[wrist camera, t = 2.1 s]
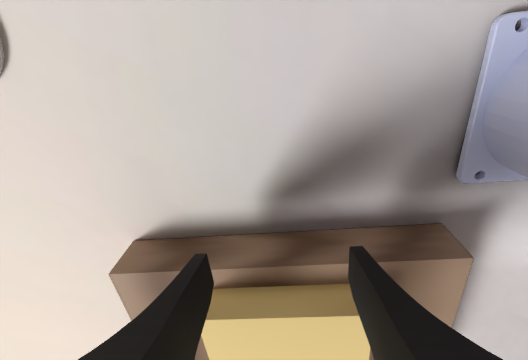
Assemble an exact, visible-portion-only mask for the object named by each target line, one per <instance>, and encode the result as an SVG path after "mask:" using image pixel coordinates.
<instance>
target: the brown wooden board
mask: <svg viewBox="0 0 528 360" xmlns="http://www.w3.org/2000/svg"><path fill="white" fill-rule="evenodd" d="M350 246H363V247H364V248H365V249H366V250H367V251H368V253H369V254H370V255H371V256H372V257H373V258H374V260H375V261H376V262H377V263H378V264H379V265H380V266H381V267H382V268H383V270H384V271H385V272H386V273H387V274H388V275H389V276H390V277H391V278H392V279H393V280H394V281H395V282H396V283H397V284H398V285H399V286H400V287H401V288H402V289H403V290H405V291H406V292H407V293H408V294H409V295H410V296H411V297H412V298H413V299H414V300H416V301H417V302H418V303H419V304H420V305H422V306H423V307H424V308H425V309H426V310H428V311H429V312H430V313H432V314H433V315H434V316H435V317H437V318H438V319H440V320H441V321H442V322H444V323H445V324H447V325H448V326H450V327H451V328H452V325H453V322H454V319H455V316H456V312H457V309H458V306H459V303H460V300H461V297H462V294H463V290H464V287H465V284H466V281H467V278H468V275H469V271H470V268H471V265H472V262H473V259H474V258H473V257H472V256H471V254H470V253H469V252H468V251H467V250H466V249H465V248H464V247H463V246H462V245H461V244H460V243H459V242H458V240H457V239H456V238H455V237H454V236H453V235H452V234H451V233H450V232H449V231H448V230H447V229H446V227H445V226H444V225H443V224H442V223H441V224H423V225H405V226H387V227H370V228H352V229H334V230H316V231H299V232H281V233H263V234H245V235H228V236H210V237H192V238H174V239H157V240H139V241H133V242H132V244H131V245H130V246H129V248H128V249H127V250H126V252H125V253H124V254H123V256H122V257H121V258H120V260H119V261H118V262H117V264H116V265H115V266H114V268H113V269H112V270H111V272H110V273H109V276H110V278H111V280H112V282H113V284H114V286H115V288H116V290H117V292H118V294H119V296H120V298H121V301H122V303H123V305H124V307H125V309H126V311H127V313H128V315H129V317H130V319H131V321H132V320H133V319H134V318H136V317H137V316H138V315H139V314H140V313H141V312H142V311H143V310H145V309H146V308H147V307H148V306H149V305H150V304H151V303H152V302H153V301H154V300H155V299H156V298H157V297H158V296H159V295H160V294H161V293H162V292H163V290H164V289H165V288H166V287H167V286H168V285H169V284H170V283H171V282H172V281H173V279H174V278H175V277H176V276H177V275H178V274H179V272H180V271H181V270H182V269H183V268H184V267H185V265H186V264H187V263H188V262H189V261H190V259H191V258H192V257H193V256H194V255H195V254H204V253H207V256H208V260H209V264H210V268H211V272H212V276H213V280H214V286H213V289H222V288H248V287H275V286H301V285H327V284H349V279H348V267H349V247H350ZM195 360H209V357H208V354H207V351H206V348H205V345H204V342H203V339H202V336H201V337H200V341H199V344H198V347H197V351H196V355H195ZM369 360H374V358H373V355H372V351H371V348H370V355H369Z"/></svg>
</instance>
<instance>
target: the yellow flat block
mask: <svg viewBox="0 0 528 360" xmlns="http://www.w3.org/2000/svg"><path fill="white" fill-rule="evenodd" d="M201 336H202V339H203V342H204V345H205V348H206V351H207V354H208V357H209V360H369V355H370V345H369V342H368V339H367V336H366V334H365V331H364V328H363V325H362V322H361V320H360V317H359V314H358V311H357V308H356V305H355V303H354V300H353V297H352V292H351V288H350V284H327V285H301V286H275V287H248V288H222V289H213V293H212V298H211V303H210V307H209V310H208V314H207V317H206V320H205V324H204V327H203V330H202V334H201Z"/></svg>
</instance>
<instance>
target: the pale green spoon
mask: <svg viewBox="0 0 528 360" xmlns="http://www.w3.org/2000/svg"><path fill="white" fill-rule="evenodd" d="M3 65H4V51H3V45H2V41H1V38H0V75H1V72H2V70H3Z"/></svg>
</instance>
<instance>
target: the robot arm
mask: <svg viewBox="0 0 528 360" xmlns="http://www.w3.org/2000/svg"><path fill="white" fill-rule="evenodd" d="M518 20H521V26H520V28H519V29H518V30H517V31H516V30H515V25H516V23H517V21H518ZM479 171H480V173H479V174H478V175H477V176H475V174H476V173H477V172H479ZM456 177H457V179H458V180H459V181H460V182H462V183H464V184H472V183H487V182H502V181H516V180H528V11H521V12H512V13H506V14H503V15H501V16H499V17H498V18H496V20H495V21H494V22H493V24H492V26H491V28H490V33H489V37H488V41H487V45H486V50H485V54H484V58H483V62H482V67H481V71H480V75H479V79H478V84H477V88H476V92H475V96H474V101H473V105H472V109H471V113H470V118H469V122H468V126H467V130H466V135H465V139H464V143H463V147H462V152H461V156H460V160H459V164H458V169H457V173H456ZM348 279H349V284H350V288H351V292H352V297H353V300H354V303H355V305H356V308H357V311H358V314H359V317H360V320H361V322H362V325H363V328H364V331H365V334H366V336H367V339H368V342H369V345H370V348H371V351H372V355H373V358H374V360H503V359H501V358H499V357H497V356H496V355H494V354H492V353H490V352H488V351H487V350H485V349H483V348H482V347H480V346H478V345H477V344H475V343H474V342H472V341H470V340H469V339H467V338H466V337H464V336H463V335H461V334H460V333H458V332H457V331H455V330H454V329H452V328H451V327H450V326H448V325H447V324H445V323H444V322H442V321H441V320H440V319H438V318H437V317H435V316H434V315H433V314H432V313H430V312H429V311H428V310H426V309H425V308H424V307H423V306H422V305H420V304H419V303H418V302H417V301H416V300H414V299H413V298H412V297H411V296H410V295H409V294H408V293H407V292H406V291H405V290H403V289H402V288H401V287H400V286H399V285H398V284H397V283H396V282H395V281H394V280H393V279H392V278H391V277H390V276H389V275H388V274H387V273H386V272H385V271H384V270H383V268H382V267H381V266H380V265H379V264H378V263H377V262H376V261H375V260H374V258H373V257H372V256H371V255H370V254H369V253H368V251H367V250H366V249H365V248H364V247H363V246H350V247H349V267H348ZM213 286H214V280H213V276H212V272H211V268H210V264H209V260H208V256H207V253H204V254H195V255H194V256H193V257H192V258H191V259H190V261H189V262H188V263H187V264H186V265H185V267H184V268H183V269H182V270H181V271H180V272H179V274H178V275H177V276H176V277H175V278H174V279H173V281H172V282H171V283H170V284H169V285H168V286H167V287H166V288H165V289H164V290H163V292H162V293H161V294H160V295H159V296H158V297H157V298H156V299H155V300H154V301H153V302H152V303H151V304H150V305H149V306H148V307H147V308H146V309H145V310H143V311H142V312H141V313H140V314H139V315H138V316H137V317H136V318H134V319H133V320H132V321H131V322H129V323H128V324H127V325H126V326H125V327H123V328H122V329H121V330H120V331H118V332H117V333H116V334H114V335H113V336H112V337H110V338H109V339H108V340H106V341H105V342H104V343H102V344H101V345H99V346H98V347H96V348H95V349H93V350H92V351H91V352H89V353H88V354H86V355H84V356H83V357H81V358H80V359H78V360H195V355H196V351H197V347H198V344H199V341H200V337H201V334H202V330H203V327H204V324H205V320H206V317H207V314H208V310H209V307H210V303H211V298H212V293H213Z"/></svg>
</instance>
